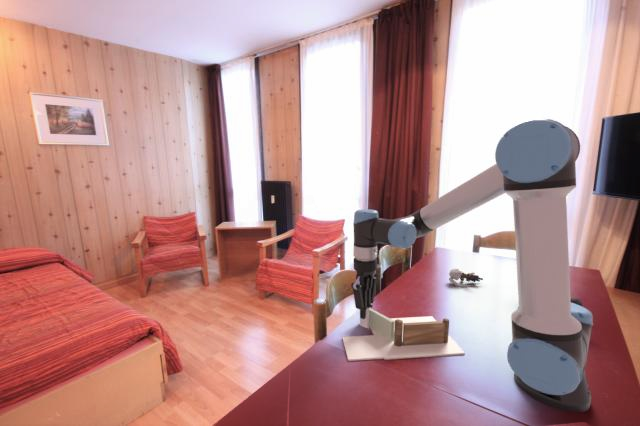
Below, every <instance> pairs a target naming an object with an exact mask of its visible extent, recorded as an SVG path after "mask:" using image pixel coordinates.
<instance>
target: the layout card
mask: <svg viewBox="0 0 640 426" xmlns="http://www.w3.org/2000/svg"><path fill="white" fill-rule="evenodd" d="M389 318H390V317H389ZM390 319H392V320H394V329H395V320H397V319H399V320H402V321H403V323H415V322H432V321H437V320H436V319H435V318H434V317H433V315H431V316H411V317H395V318H393V317H392V318H390ZM370 330H371V333H372V334H371V335H370V334H369V335H357V336H356V335H354V336H353V335H352V336H342V338H341V339H342V343H343V345H344V350H345V354H346V359H347V361H348V362H350V361H351V362H353V361H355V362H356V361H366V360H368V361H369V360H383V359H384V360H385V361H388V360H400V359H401V360H402V359H415V358H429V357H445V356H447V357H449V356H461V355H465V354H466V353H465V351H464V350H463V349H462V348H461V347H460V345H459V344H458V343H457V342H456V341H455V340H454V338H452V337H451V336H450V334H449V333H448V343H444V342H440V343H424V344H409V345H404V344H403V333H402V346H400V347H398V346H395V345H394V339H393V340H390V339H388V338H386V337H385V336H383V335H382V334H380V333H378V332H377V331H375V330H373V329H372V328H370Z"/></svg>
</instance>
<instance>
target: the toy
mask: <svg viewBox="0 0 640 426" xmlns="http://www.w3.org/2000/svg"><path fill="white" fill-rule="evenodd" d="M475 274H476V273H475V272H473V271H471V272H468V273H467V274H466V273H465V272H463V271H461V270H460V269H459V268H452V269H450V271H449V273H448V276H449V278H448V280H449V281H448V282H450V283H452V284H453V285H454V286H455V287H457V288H469V287H474V286H475V284H469V285H468V284H467V285H465V284H461V283H458V282H456V281H458V280H460V281H463V282H464V281H466V282H473V283H475V282H481V281H483V280H484V278H482V277H480V276H479V275H475Z"/></svg>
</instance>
